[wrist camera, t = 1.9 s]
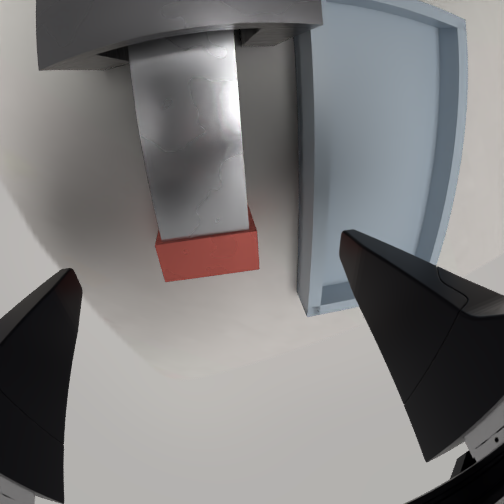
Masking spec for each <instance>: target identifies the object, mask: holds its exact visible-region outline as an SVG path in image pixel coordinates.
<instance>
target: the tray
mask: <svg viewBox="0 0 504 504" xmlns="http://www.w3.org/2000/svg"><path fill="white" fill-rule="evenodd" d="M321 5H322V16H323V25H322V26H319V27H316V28H314V29H311V30H309V31H306V32H304V33H302V34H299V35H297V36H295V37H294V45H295V62H296V82H297V107H298V146H299V236H298V276H297V293H298V295H299V298H300V300H301V303H302V305H303V308H304V310H305V313H306V315H307V317H310V316H315V315H320V314H325V313H330V312H335V311H340V310H345V309H350V308H354V307H359V305H358V303H357V301H356V299H355V297H354V295H353V292H352V290H351V287H350V284H349V282H348V279H347V276H346V273H345V271H344V268H343V266H342V263H341V260H340V257H339V248H340V238H341V233H342V231H344V230H350V229H355V230H357V231H359V232H362V233H364V234H367V235H369V236H371V237H374V238H376V239H378V240H381V241H383V242H385V243H387V244H390V245H392V246H394V247H397V248H399V249H401V250H403V251H405V252H408V253H410V254H412V255H414V256H416V257H419V258H421V259H423V260H425V261H427V262H429V263H432V264H434V265H437V261H438V258H439V255H440V252H441V248H442V245H443V241H444V238H445V234H446V230H447V226H448V222H449V218H450V214H451V210H452V205H453V201H454V196H455V191H456V186H457V181H458V175H459V170H460V163H461V157H462V150H463V142H464V133H465V123H466V110H467V90H468V53H467V34H466V22H465V19H463V18H460V17H458V16H456V15H454V14H452V13H449V12H447V11H445V10H442V9H440V8H437V7H435V6H432V5H429V4H427V3H424V2H421V1H418V0H321Z"/></svg>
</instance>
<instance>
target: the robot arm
mask: <svg viewBox="0 0 504 504" xmlns="http://www.w3.org/2000/svg"><path fill="white" fill-rule="evenodd" d="M339 257H340V260H341V263H342V266H343V268H344V271H345V273H346V276H347V279H348V282H349V284H350V287H351V290H352V292H353V295H354V297H355V299H356V301H357V303H358V305H359V307H360V309H361V311H362V313H363V315H364V317H365V319H366V321H367V323H368V325H369V327H370V330H371V332H372V334H373V336H374V338H375V340H376V342H377V344H378V347H379V349H380V351H381V353H382V355H383V358H384V360H385V362H386V364H387V366H388V369H389V371H390V373H391V376H392V378H393V380H394V382H395V385H396V387H397V389H398V392H399V394H400V396H401V399H402V401H403V404H405V405H404V407H405V409H406V411H407V414H408V416H409V419H410V421H411V424H412V427H413V429H414V432H415V434H416V437H417V439H418V442H419V445H420V448H421V450H422V453H423V456H424V459H425V461H426V462H429V461H430V460H433V459H435V458H436V457H438V456H440V455H442V454H444V453H446V452H447V451H449V450H451V449H453V448H454V447H456V446H458V445H459V444H461V443H462V442H464V441H465V443H466V445H467V447H468V449H469V451H468V452H466V453H465V454H463V455H462V456H460V457H459V458H458V459H457V461H456V464H455V467H454V470H453V472H452V475H451V478H450V480H448V481H447V482H445V483H443V484H441V485H440V486H438V487H436V488H435V489H432V490H431V491H429V492H427V493H425V494H423V495H421V496H419V497H417V498H415V499H413V500H411V501H409V502H407V503H405V504H504V295H501V294H498V293H496V292H494V291H492V290H489V289H487V288H485V287H483V286H480V285H478V284H475V283H473V282H471V281H468V280H466V279H464V278H462V277H459V276H457V275H455V274H453V273H451V272H449V271H446V270H444V269H442V268H440V267H436V265H434V264H432V263H429V262H427V261H425V260H423V259H421V258H419V257H416V256H414V255H412V254H410V253H408V252H405V251H403V250H401V249H399V248H397V247H394V246H392V245H390V244H387V243H385V242H383V241H381V240H378V239H376V238H374V237H371V236H369V235H367V234H364V233H362V232H359V231H357V230H355V229H350V230H344V231H342V233H341V238H340V248H339ZM81 301H82V287H81V285H80V283H79V280H78V278H77V276H76V274H75V272H74V270H73V269H72V268H66V269H61V270H60V271H59V272H58V273H56V274H55V275H53V276H52V277H51V278H49V279H48V280H47V281H46V282H45V283H43V284H42V285H41V286H39V287H38V288H37V289H36V290H34V291H33V292H32V293H31V294H29V295H28V296H27V297H26V298H24V299H23V300H22V301H21V302H20V303H18V304H17V305H16V306H15V307H14V308H13V309H12V310H10V311H9V312H8V313H7V314H6V315H4V316H3V317H2V318H1V319H0V504H34V501H35V496H38V497H41V498H44V499H48V500H51V501H55V502H58V503H62V504H64V482H63V481H64V480H63V479H64V477H63V459H64V458H63V457H64V445H63V444H64V430H65V417H66V406H67V397H68V389H69V381H70V374H71V367H72V360H73V355H74V349H75V344H76V338H77V333H78V326H79V316H80V309H81Z"/></svg>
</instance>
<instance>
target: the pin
mask: <svg viewBox="0 0 504 504" xmlns="http://www.w3.org/2000/svg"><path fill="white" fill-rule="evenodd" d="M128 52H129V62H130V71H131V79H132V87H133V95H134V102H135V109H136V116H137V122H138V129H139V135H140V140H141V146H142V152H143V157H144V162H145V168H146V173H147V178H148V183H149V187H150V192H151V197H152V201H153V206H154V210H155V215H156V219H157V223H158V227H159V231H158V235H157V239H156V243H155V247H156V251H157V255H158V258H159V262H160V265H161V269H162V272H163V276H164V279H165V282H170V281H177V280H185V279H192V278H200V277H207V276H214V275H222V274H229V273H236V272H243V271H250V270H257V269H259V254H258V239H257V230H256V227H255V224H254V221H253V218H252V215H251V212H250V209H249V206H248V204H247V195H246V182H245V170H244V157H243V145H242V132H241V120H240V107H239V95H238V82H237V70H236V57H235V44H234V32H233V29H229V30H217V31H207V32H198V33H191V34H184V35H177V36H171V37H166V38H160V39H155V40H150V41H145V42H141V43H137V44H132V45H128Z"/></svg>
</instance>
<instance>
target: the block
mask: <svg viewBox="0 0 504 504" xmlns="http://www.w3.org/2000/svg"><path fill="white" fill-rule="evenodd" d="M322 25H323V16H322V5H321V0H36V37H37V55H38V66H39V71H42V70H106V69H110V68H113V67H117V66H121V65H125V64H129V63H130V62H129V52H128V45H132V44H137V43H141V42H145V41H150V40H155V39H160V38H166V37H171V36H177V35H184V34H191V33H198V32H207V31H217V30H229V29H240V34H241V47H244V46H275V45H277V44H279V43H281V42H283V41H286V40H288V39H290V38H292V37H295V36H297V35H299V34H302V33H304V32H306V31H309V30H311V29H314V28H316V27H319V26H322Z"/></svg>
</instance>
